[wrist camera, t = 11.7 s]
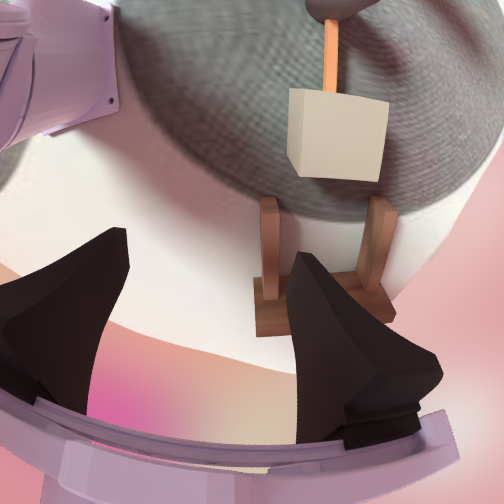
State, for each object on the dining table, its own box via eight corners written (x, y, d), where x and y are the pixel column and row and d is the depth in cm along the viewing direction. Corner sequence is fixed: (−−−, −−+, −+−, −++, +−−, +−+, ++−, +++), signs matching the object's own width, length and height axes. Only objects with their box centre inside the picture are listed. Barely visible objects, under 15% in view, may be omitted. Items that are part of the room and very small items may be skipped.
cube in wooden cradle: (249, 197, 21) (251, 238, 16) (390, 195, 21) (426, 231, 16) (253, 287, 26) (256, 337, 21) (370, 279, 26) (392, 322, 21)
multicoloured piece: (290, -14, 11) (309, -48, 6) (358, -2, 11) (397, -23, 6) (286, 154, 19) (302, 182, 14) (350, 159, 19) (384, 188, 14)
